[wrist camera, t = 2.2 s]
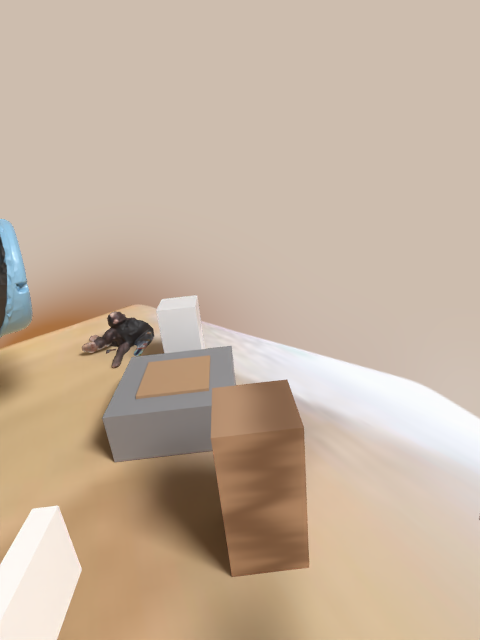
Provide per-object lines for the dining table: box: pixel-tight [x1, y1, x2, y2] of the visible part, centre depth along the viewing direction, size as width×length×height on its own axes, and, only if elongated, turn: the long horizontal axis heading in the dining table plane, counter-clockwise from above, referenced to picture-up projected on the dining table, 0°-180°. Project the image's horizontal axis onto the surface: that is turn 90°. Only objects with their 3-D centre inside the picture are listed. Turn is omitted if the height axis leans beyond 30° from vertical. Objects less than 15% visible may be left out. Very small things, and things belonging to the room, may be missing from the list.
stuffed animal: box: [82, 312, 154, 368], centre depth 60 cm, size 12×10×12 cm
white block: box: [156, 295, 205, 353], centre depth 50 cm, size 5×5×9 cm
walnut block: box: [211, 380, 309, 577], centre depth 24 cm, size 5×5×11 cm
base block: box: [102, 346, 236, 462], centre depth 39 cm, size 12×12×5 cm
